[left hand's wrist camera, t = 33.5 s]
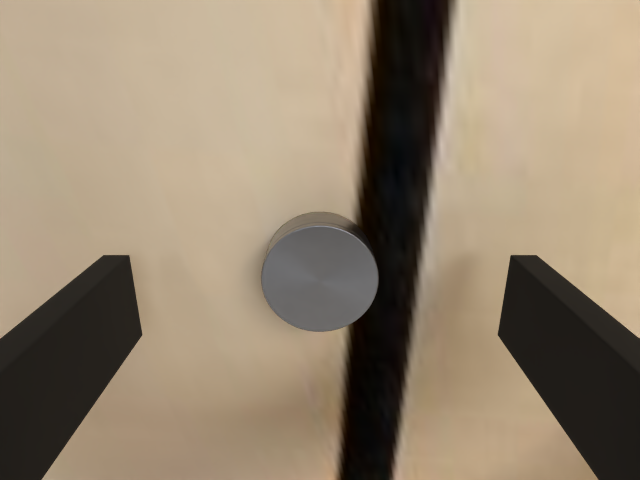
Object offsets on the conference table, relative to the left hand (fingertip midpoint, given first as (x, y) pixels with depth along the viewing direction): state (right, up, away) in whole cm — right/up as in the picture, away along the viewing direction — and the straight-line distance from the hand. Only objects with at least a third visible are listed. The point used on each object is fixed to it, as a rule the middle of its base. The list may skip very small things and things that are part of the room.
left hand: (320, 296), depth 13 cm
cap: (0, 0, +1) cm, 1 cm away
